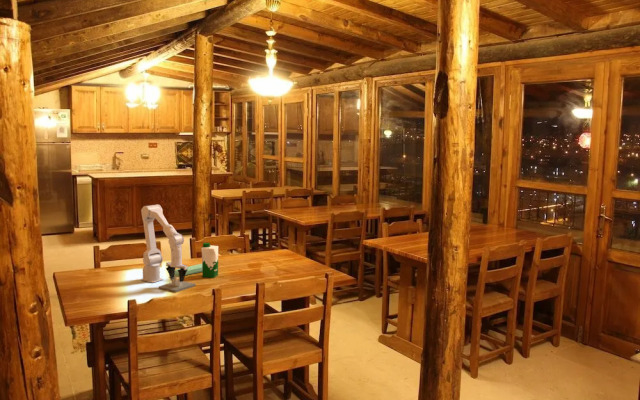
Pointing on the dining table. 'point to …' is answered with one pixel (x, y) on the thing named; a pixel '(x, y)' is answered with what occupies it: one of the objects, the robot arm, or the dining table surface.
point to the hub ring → (176, 282)
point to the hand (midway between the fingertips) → (177, 280)
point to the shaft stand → (176, 289)
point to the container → (191, 270)
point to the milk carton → (209, 260)
